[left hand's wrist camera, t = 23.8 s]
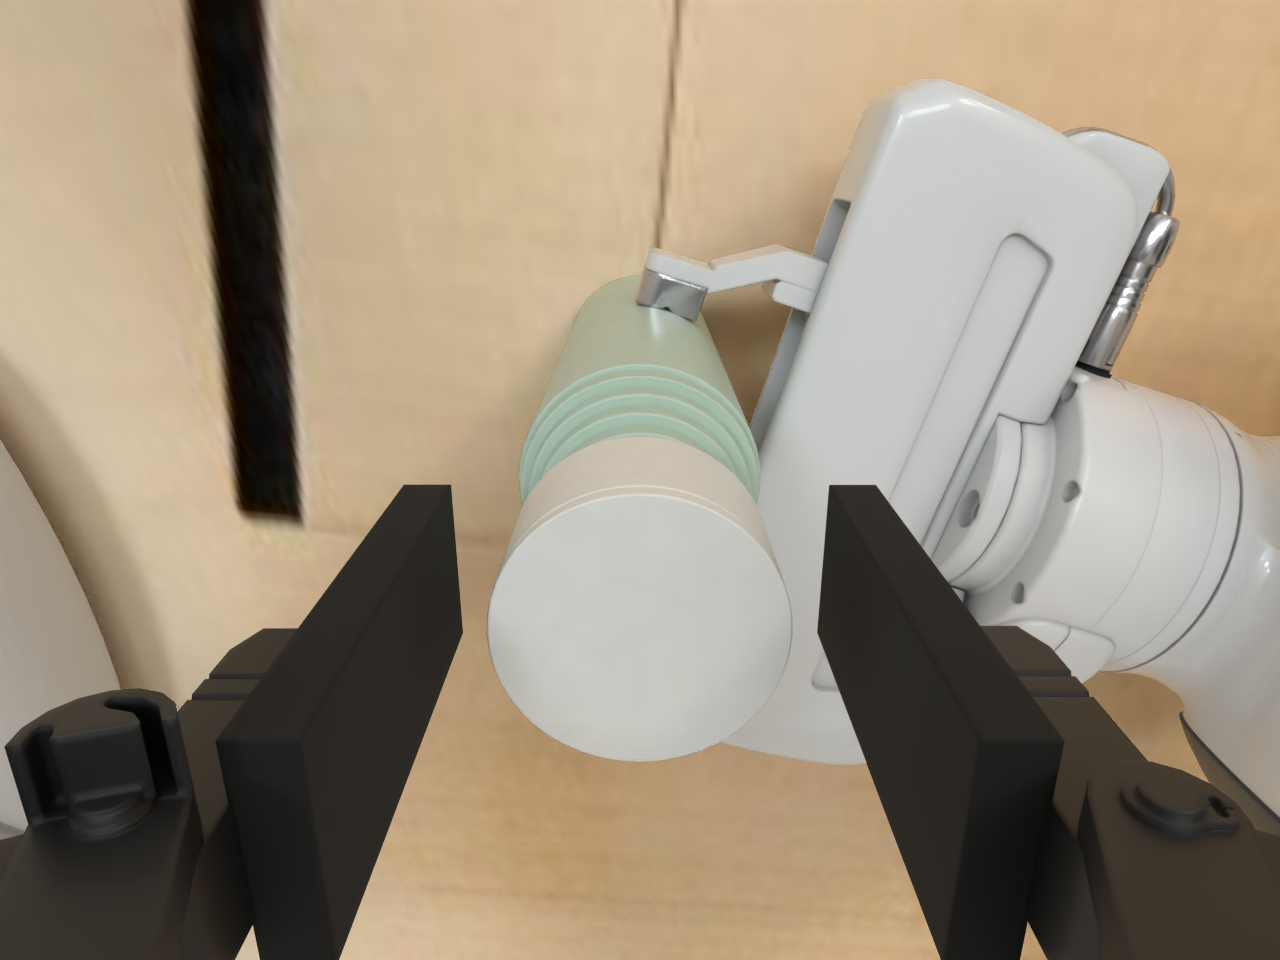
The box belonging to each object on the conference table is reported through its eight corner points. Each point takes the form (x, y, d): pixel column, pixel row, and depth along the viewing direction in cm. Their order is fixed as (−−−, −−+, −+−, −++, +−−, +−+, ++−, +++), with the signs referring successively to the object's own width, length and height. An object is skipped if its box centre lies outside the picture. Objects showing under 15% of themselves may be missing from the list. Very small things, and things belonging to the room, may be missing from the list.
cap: (554, 688, 15) (537, 788, 13) (478, 470, 14) (444, 535, 11) (789, 637, 15) (818, 729, 12) (737, 406, 13) (758, 459, 11)
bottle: (669, 434, 32) (708, 794, 14) (548, 375, 31) (418, 674, 13) (733, 315, 31) (874, 541, 12) (608, 250, 30) (557, 387, 11)
